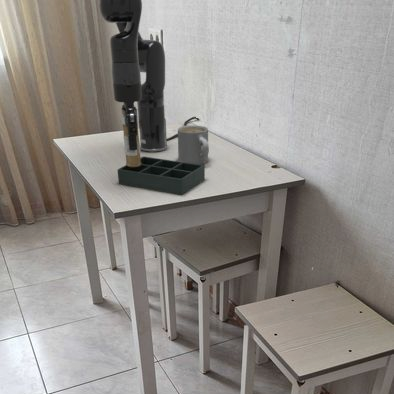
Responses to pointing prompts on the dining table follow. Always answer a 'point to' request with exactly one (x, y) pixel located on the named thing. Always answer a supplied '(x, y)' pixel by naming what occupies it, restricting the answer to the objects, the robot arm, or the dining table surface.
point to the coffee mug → (193, 144)
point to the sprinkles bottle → (131, 155)
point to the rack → (162, 175)
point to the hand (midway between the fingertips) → (132, 147)
